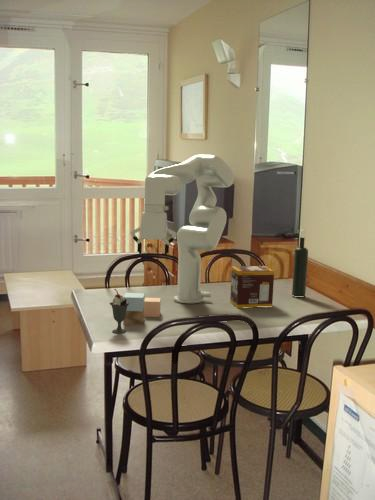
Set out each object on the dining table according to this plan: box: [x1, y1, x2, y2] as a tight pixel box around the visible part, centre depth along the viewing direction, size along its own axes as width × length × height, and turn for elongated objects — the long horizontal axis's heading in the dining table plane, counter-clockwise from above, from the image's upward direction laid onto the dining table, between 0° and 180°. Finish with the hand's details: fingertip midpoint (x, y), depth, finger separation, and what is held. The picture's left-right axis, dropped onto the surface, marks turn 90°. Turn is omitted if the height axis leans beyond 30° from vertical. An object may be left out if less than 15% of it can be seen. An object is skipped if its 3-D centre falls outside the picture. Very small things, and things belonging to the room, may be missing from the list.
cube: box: [144, 297, 161, 318], centre depth 229 cm, size 6×6×6 cm
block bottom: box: [122, 309, 145, 326], centre depth 219 cm, size 7×7×5 cm
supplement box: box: [229, 265, 275, 309], centre depth 248 cm, size 10×15×16 cm
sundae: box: [109, 288, 129, 335], centre depth 206 cm, size 7×7×15 cm
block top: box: [123, 292, 145, 311], centre depth 218 cm, size 7×7×5 cm
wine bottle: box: [291, 229, 309, 297], centre depth 264 cm, size 6×6×30 cm
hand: (153, 254), depth 225 cm, fingers open, 9 cm apart
